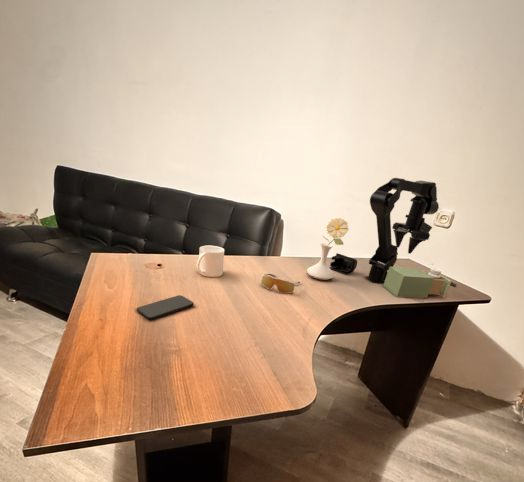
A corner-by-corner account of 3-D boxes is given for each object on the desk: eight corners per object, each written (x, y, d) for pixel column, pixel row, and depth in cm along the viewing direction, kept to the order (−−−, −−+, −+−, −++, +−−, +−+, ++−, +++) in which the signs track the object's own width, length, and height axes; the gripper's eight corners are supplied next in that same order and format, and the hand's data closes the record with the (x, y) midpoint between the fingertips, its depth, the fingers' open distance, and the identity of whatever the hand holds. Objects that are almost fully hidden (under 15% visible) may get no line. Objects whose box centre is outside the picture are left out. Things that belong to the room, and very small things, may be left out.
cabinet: (411, 287, 131) (418, 268, 127) (426, 298, 122) (435, 278, 118) (383, 285, 128) (389, 266, 124) (396, 296, 119) (404, 276, 115)
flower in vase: (300, 275, 127) (313, 213, 115) (315, 270, 135) (327, 212, 123) (327, 285, 120) (343, 221, 108) (341, 280, 128) (357, 219, 116)
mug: (212, 267, 122) (214, 244, 117) (227, 274, 117) (229, 251, 112) (187, 272, 114) (187, 247, 109) (202, 280, 109) (202, 255, 104)
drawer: (439, 287, 133) (446, 273, 130) (455, 296, 125) (462, 281, 122) (404, 285, 129) (410, 270, 126) (418, 295, 121) (424, 279, 118)
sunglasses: (255, 286, 109) (257, 273, 107) (269, 280, 123) (271, 268, 121) (292, 297, 105) (295, 283, 104) (302, 289, 119) (305, 276, 117)
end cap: (354, 272, 139) (359, 258, 136) (347, 275, 134) (351, 260, 131) (336, 266, 145) (339, 252, 142) (328, 268, 140) (331, 254, 137)
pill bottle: (429, 291, 124) (437, 272, 120) (419, 286, 127) (427, 267, 123) (436, 290, 126) (445, 271, 122) (426, 286, 129) (434, 267, 125)
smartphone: (134, 307, 83) (180, 294, 94) (134, 310, 84) (180, 297, 94) (149, 318, 79) (195, 303, 90) (149, 321, 80) (195, 305, 90)
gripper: (447, 220, 121) (432, 258, 128) (419, 211, 137) (407, 245, 144) (423, 217, 118) (409, 256, 126) (397, 209, 134) (386, 243, 142)
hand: (403, 250), depth 134 cm, fingers open, 9 cm apart
